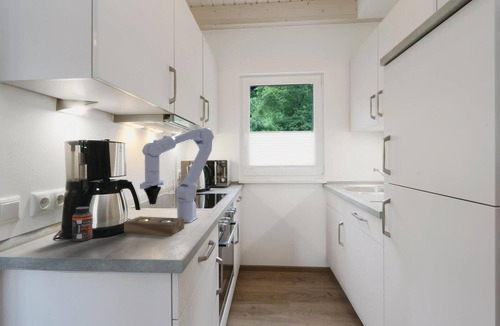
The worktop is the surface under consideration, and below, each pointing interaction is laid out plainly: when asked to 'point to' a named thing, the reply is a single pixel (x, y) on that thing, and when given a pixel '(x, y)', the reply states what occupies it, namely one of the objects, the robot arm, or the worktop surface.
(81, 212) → the supplement bottle
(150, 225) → the walnut block
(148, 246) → the worktop surface
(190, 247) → the worktop surface
